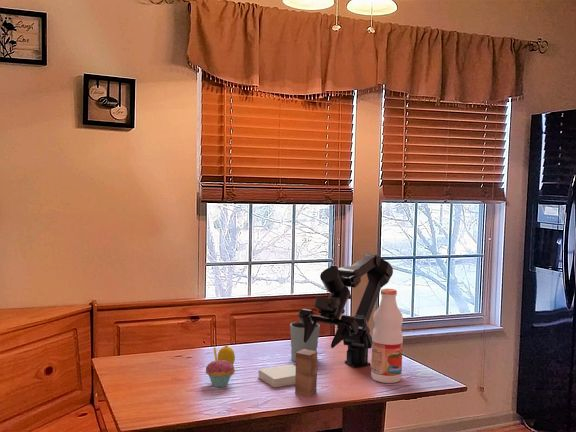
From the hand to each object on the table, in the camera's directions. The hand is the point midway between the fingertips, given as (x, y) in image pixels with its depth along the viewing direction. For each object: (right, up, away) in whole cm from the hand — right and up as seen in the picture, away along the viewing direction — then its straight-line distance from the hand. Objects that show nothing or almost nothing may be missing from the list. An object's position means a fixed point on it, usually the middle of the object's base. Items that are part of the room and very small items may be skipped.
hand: (317, 344), depth 173 cm
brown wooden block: (-4, -13, -5) cm, 14 cm away
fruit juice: (+22, -13, +9) cm, 27 cm away
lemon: (-29, -12, +14) cm, 34 cm away
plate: (-10, -12, +7) cm, 17 cm away
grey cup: (-3, -11, +28) cm, 30 cm away
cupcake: (-29, -12, +1) cm, 32 cm away
